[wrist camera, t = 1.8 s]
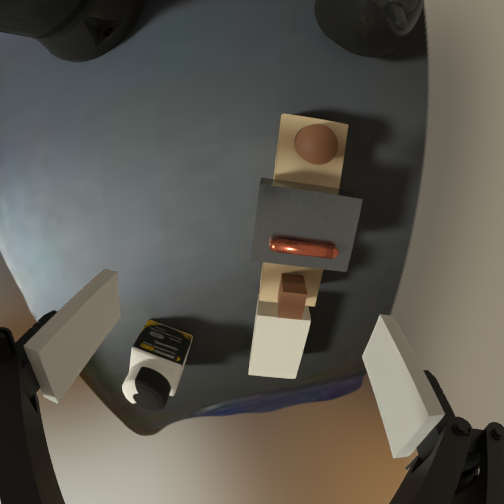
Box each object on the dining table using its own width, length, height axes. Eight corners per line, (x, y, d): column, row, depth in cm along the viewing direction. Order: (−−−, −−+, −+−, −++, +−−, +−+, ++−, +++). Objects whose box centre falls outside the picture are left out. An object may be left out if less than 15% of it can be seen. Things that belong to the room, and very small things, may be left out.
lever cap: (261, 177, 28) (259, 186, 24) (351, 190, 28) (366, 202, 23) (253, 245, 31) (250, 266, 26) (338, 255, 31) (349, 277, 26)
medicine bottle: (193, 334, 42) (172, 394, 31) (184, 365, 45) (165, 423, 34) (148, 317, 42) (116, 372, 31) (143, 350, 44) (115, 404, 33)
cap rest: (258, 293, 39) (256, 315, 34) (307, 298, 39) (311, 320, 34) (250, 351, 43) (248, 374, 38) (293, 355, 42) (295, 378, 38)
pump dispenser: (309, 58, 28) (336, 6, 14) (310, -13, 24) (330, -85, 10) (393, 73, 27) (465, 45, 13) (390, 3, 23) (447, -48, 9)
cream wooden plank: (280, 116, 30) (284, 109, 22) (337, 125, 30) (360, 123, 22) (260, 280, 38) (257, 320, 30) (309, 285, 38) (319, 327, 30)
